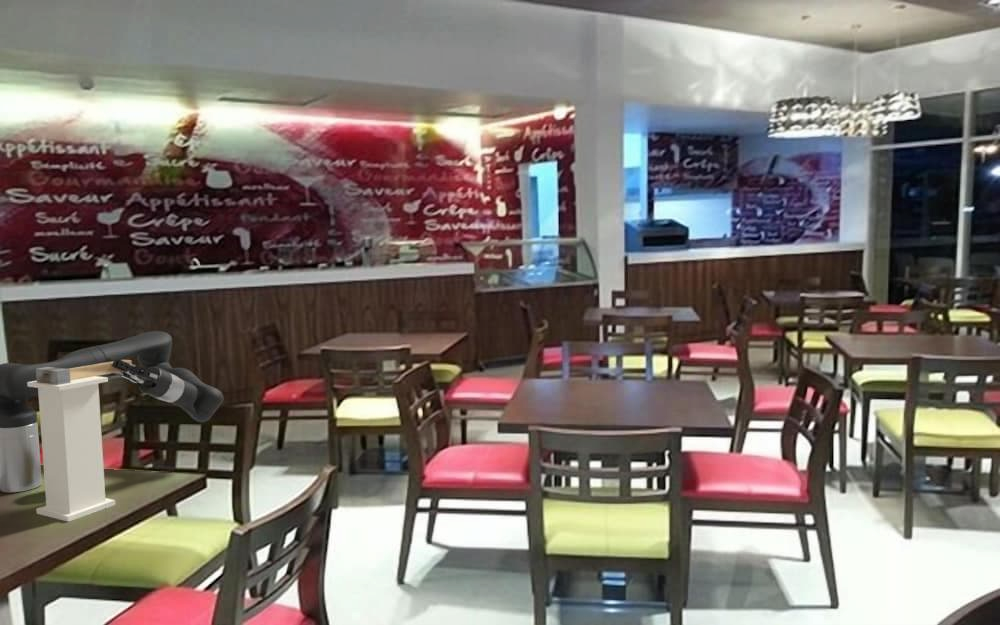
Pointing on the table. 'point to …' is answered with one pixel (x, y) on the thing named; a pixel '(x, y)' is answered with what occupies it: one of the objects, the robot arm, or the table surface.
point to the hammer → (74, 373)
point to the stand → (72, 448)
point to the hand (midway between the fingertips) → (109, 362)
